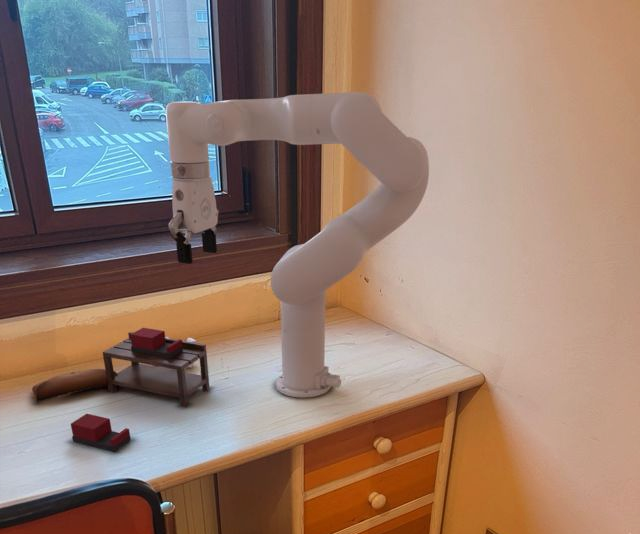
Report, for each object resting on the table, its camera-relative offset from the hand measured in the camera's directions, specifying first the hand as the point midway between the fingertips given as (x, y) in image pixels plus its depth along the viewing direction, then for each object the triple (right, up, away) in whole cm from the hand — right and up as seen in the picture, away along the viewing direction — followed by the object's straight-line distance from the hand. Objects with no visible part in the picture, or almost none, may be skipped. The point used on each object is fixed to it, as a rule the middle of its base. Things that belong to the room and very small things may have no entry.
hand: (198, 257), depth 136 cm
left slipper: (-16, -39, -12) cm, 44 cm away
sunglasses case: (-29, -28, +8) cm, 41 cm away
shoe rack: (-10, -28, +8) cm, 31 cm away
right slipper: (-9, -20, +3) cm, 22 cm away
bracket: (-11, -20, +22) cm, 32 cm away
